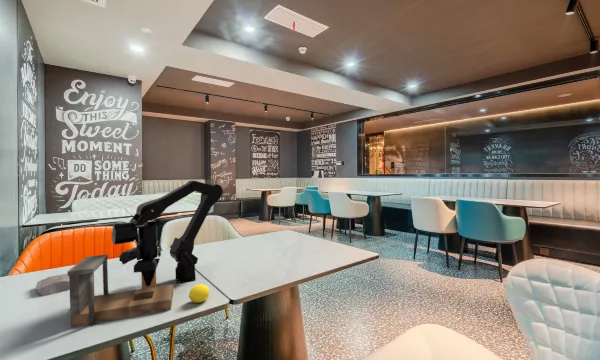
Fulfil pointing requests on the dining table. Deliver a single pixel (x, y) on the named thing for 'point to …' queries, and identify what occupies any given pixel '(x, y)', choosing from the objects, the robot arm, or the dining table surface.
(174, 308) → the dining table surface
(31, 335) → the dining table surface
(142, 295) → the socket stand
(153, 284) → the peg
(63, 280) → the stone block
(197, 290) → the lemon
